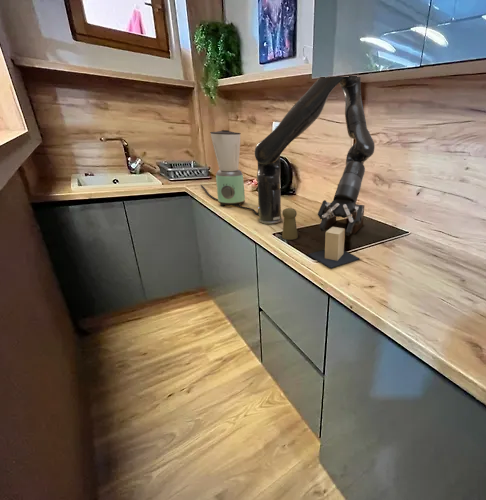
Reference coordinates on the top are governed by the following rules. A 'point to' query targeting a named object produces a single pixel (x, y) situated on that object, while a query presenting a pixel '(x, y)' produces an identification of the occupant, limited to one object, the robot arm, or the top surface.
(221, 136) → the green blender
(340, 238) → the block
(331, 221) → the shelf
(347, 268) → the top surface
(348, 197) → the robot arm
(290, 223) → the olive pepper mill
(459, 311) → the top surface
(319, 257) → the mat
